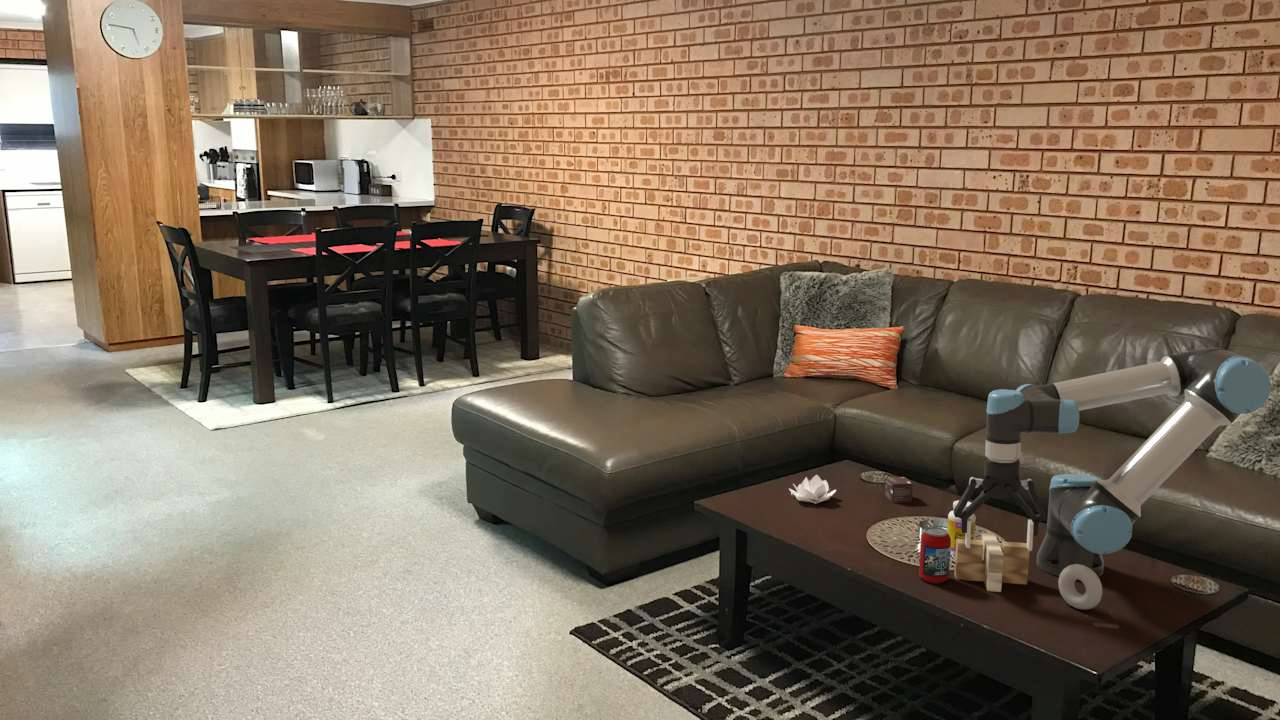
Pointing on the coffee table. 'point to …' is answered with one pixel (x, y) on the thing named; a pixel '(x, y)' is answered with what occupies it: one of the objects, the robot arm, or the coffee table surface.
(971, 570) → the oak rail
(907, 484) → the box
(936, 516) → the coffee table surface
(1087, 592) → the donut
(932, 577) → the beverage can
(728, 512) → the coffee table surface
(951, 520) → the supplement bottle
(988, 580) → the notched cream plank
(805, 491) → the lotus flower
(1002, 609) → the coffee table surface
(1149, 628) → the coffee table surface
